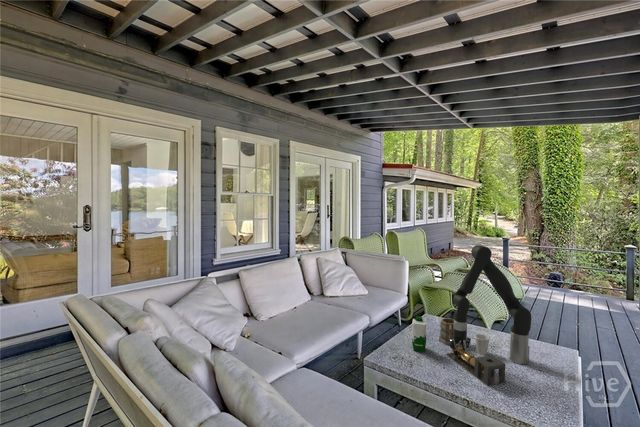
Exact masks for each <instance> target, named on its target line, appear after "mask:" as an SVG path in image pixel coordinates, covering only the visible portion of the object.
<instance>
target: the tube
mask: <svg viewBox="0 0 640 427" xmlns="http://www.w3.org/2000/svg"><path fill="white" fill-rule="evenodd" d="M455 348H456V347H455ZM462 348H463V347H460V346H459V347H458V349H457V351H458V352H457V355H458V356H459V357H460V358H462V359H463V360H465V361H466V362H467V363H469V364H470V365H471V366H473V367H474V368H475V358H476V356H474V355H473V354H471V353H470V352H468V351H467V350H466V351H465V350H463V349H462ZM451 353H454V350H453V349H452V348H451ZM484 368H485V366H484V365H483V364H481V371H483V370H484Z"/></svg>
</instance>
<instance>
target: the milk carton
mask: <svg viewBox="0 0 640 427" xmlns="http://www.w3.org/2000/svg"><path fill="white" fill-rule="evenodd" d="M411 328H412V329H411V343H412V350H413V352H423V353H426V345H427V330H428V329H427V322H426V319H423V317H422V316H421V315H420V316H419V315H417V316H415V318H412V323H411Z"/></svg>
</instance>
